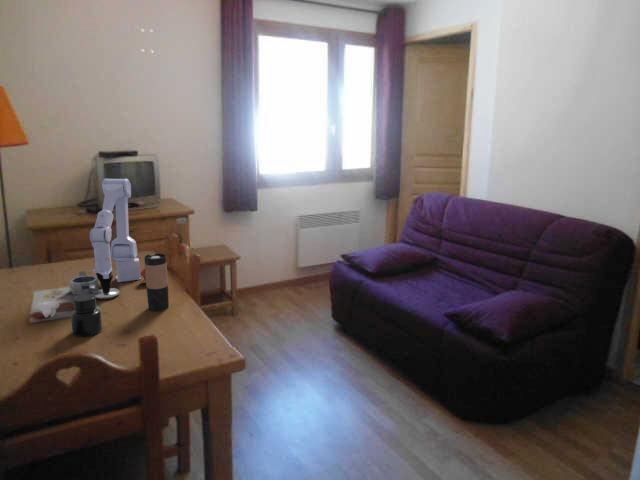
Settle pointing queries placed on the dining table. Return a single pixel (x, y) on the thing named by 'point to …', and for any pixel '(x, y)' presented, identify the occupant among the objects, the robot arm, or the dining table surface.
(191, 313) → the dining table surface
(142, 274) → the red bell pepper
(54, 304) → the elephant figurine
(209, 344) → the dining table surface
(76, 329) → the ink bottle
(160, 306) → the travel mug
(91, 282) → the pot
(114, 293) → the lid
